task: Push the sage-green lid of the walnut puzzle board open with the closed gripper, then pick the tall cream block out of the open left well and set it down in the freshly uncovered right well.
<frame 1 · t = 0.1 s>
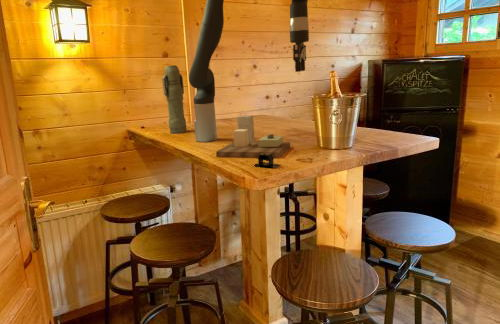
hand: (300, 71, 160), 29 cm above the table, tool pointing down, fingers open, 8 cm apart
skincare box: (246, 144, 168), on the table
lid: (270, 139, 149), point 5 cm above the table, slide at 0.0 cm
cream block: (242, 150, 154), resting on puzzle board
puzzle board: (254, 152, 150), on the table
black stand: (266, 167, 130), on the table
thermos: (178, 132, 210), on the table
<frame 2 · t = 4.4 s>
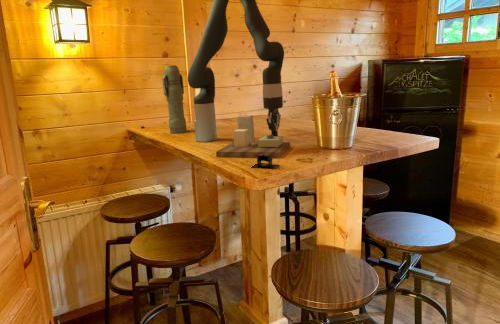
hand: (274, 139, 154), 4 cm above the table, tool pointing down, fingers closed
lid: (270, 140, 149), point 5 cm above the table, slide at 0.3 cm, touching gripper
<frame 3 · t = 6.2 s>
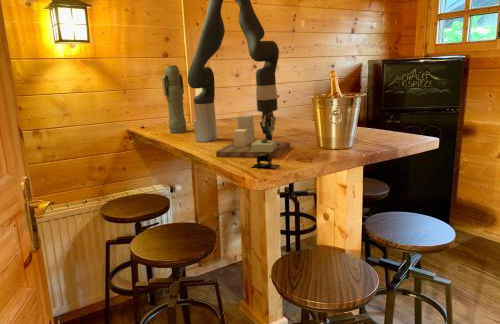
hand: (269, 144, 147), 4 cm above the table, tool pointing down, fingers closed
lid: (264, 144, 141), point 5 cm above the table, slide at 8.4 cm, touching gripper
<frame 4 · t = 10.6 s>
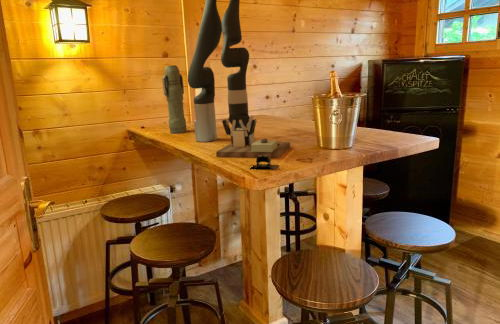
hand: (240, 145, 154), 2 cm above the table, tool pointing down, fingers closed on cream block, 4 cm apart
lid: (264, 144, 141), point 5 cm above the table, slide at 8.4 cm
cream block: (241, 150, 154), resting on puzzle board, touching gripper
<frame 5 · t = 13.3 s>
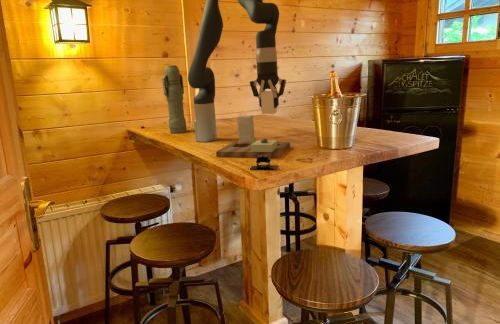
hand: (269, 107, 146), 17 cm above the table, tool pointing down, fingers closed on cream block, 4 cm apart
cream block: (269, 113, 147), point 15 cm above the table, touching gripper
when the fingers open (3 cm above the table, at t = 16.1 s): cream block stays where it is, resting on puzzle board.
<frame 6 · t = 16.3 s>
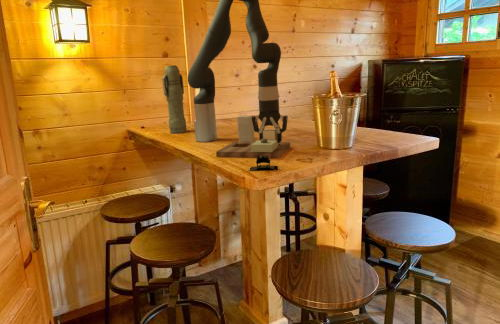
hand: (270, 142, 149), 4 cm above the table, tool pointing down, fingers open, 6 cm apart
cream block: (271, 150, 150), resting on puzzle board
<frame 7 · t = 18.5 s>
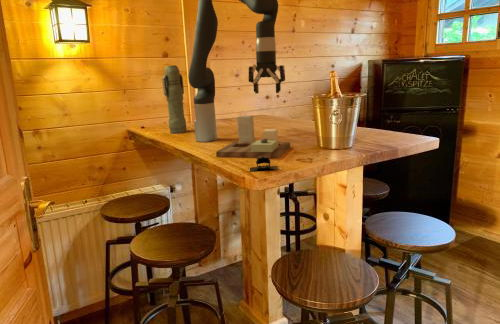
hand: (267, 93, 153), 22 cm above the table, tool pointing down, fingers open, 8 cm apart
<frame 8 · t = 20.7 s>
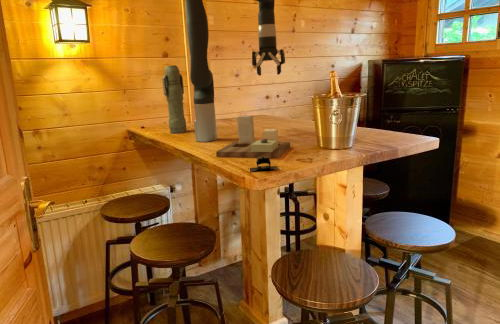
hand: (269, 75, 170), 28 cm above the table, tool pointing down, fingers open, 8 cm apart
at the end: lid slide at 8.4 cm; cream block 0.0 cm from the target spot on the puzzle board, point 0.4 cm above the puzzle board's base; cream block tilted 0° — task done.
